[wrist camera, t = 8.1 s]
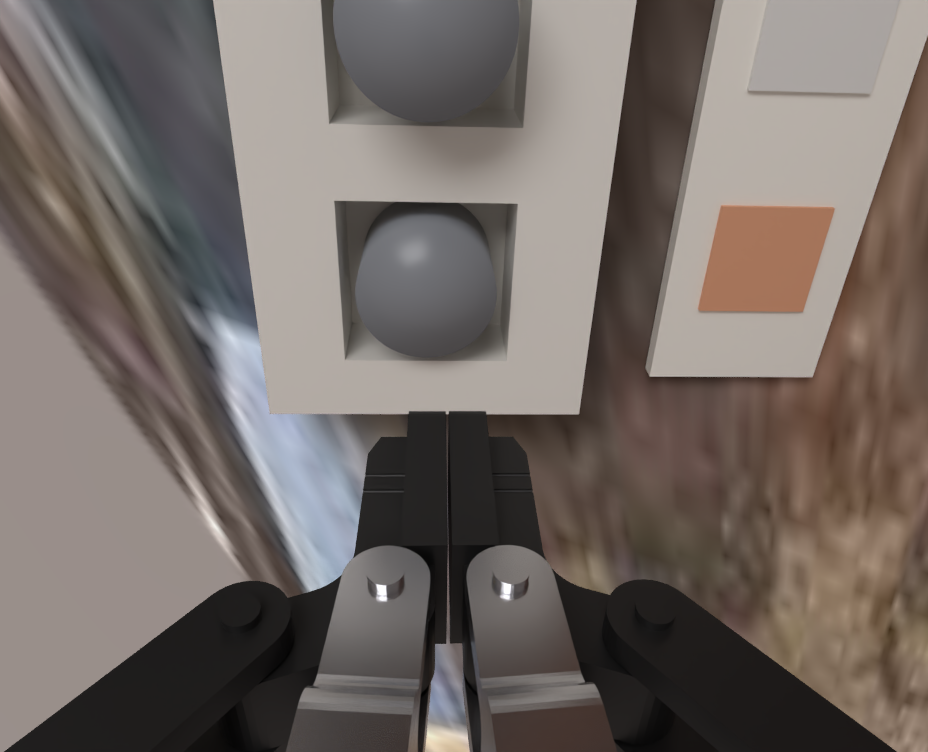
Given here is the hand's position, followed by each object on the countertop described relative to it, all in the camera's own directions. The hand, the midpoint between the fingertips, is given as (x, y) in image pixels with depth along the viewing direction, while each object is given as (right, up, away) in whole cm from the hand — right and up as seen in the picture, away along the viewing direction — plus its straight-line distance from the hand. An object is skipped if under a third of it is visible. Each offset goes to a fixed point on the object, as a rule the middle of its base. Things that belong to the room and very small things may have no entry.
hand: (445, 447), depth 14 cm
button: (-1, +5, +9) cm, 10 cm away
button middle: (-1, +10, +4) cm, 11 cm away
